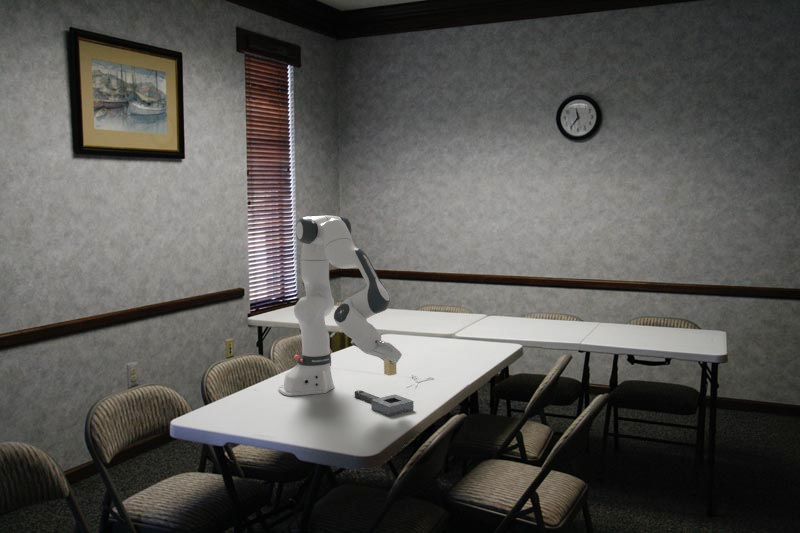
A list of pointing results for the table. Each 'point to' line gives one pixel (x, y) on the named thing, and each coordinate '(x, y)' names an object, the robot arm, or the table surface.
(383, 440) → the table surface
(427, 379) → the scissors
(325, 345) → the robot arm
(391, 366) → the bar
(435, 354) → the table surface
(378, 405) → the grey handled square frame
